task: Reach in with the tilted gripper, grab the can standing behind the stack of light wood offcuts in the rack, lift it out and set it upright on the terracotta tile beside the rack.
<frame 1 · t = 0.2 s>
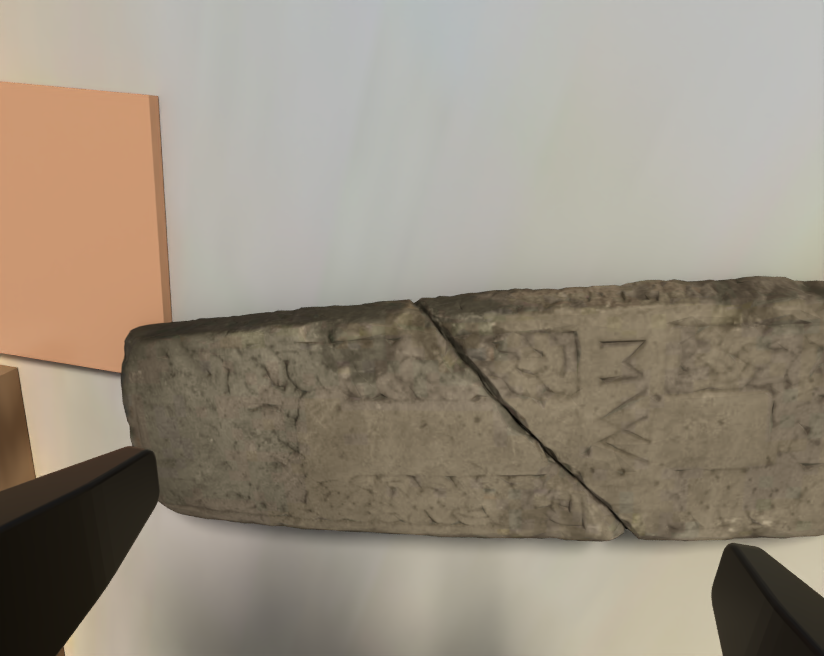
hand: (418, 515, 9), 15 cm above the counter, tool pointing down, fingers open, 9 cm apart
tile: (41, 230, 25), on the counter
stone slab: (479, 405, 24), on the counter, touching tile
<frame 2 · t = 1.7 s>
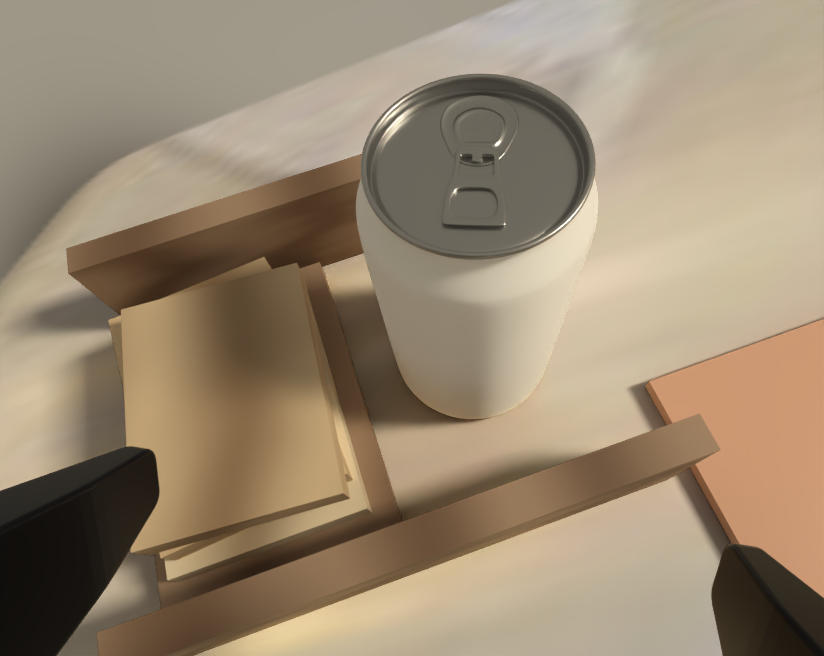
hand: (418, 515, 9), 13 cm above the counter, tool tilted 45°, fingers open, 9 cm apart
can: (470, 351, 25), on the counter
rack: (360, 387, 24), on the counter
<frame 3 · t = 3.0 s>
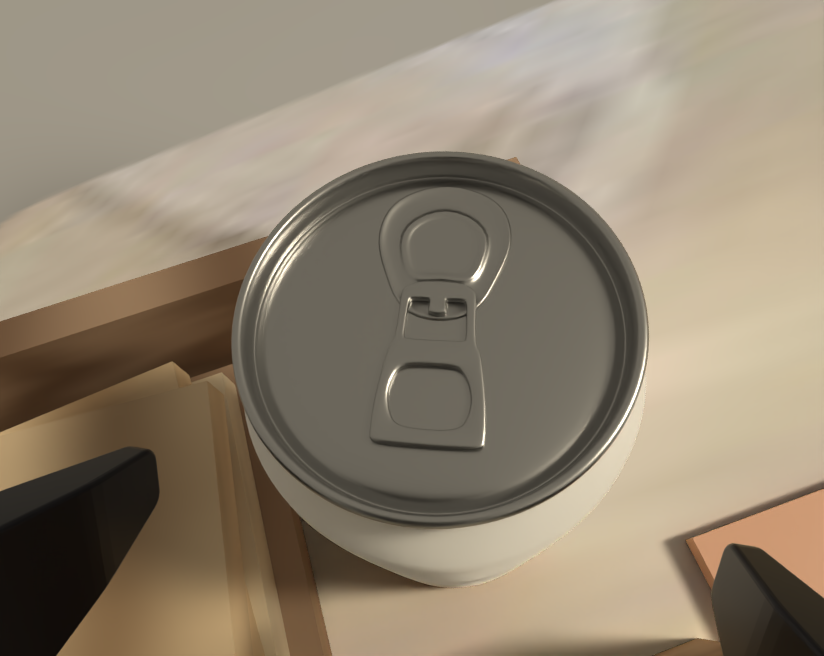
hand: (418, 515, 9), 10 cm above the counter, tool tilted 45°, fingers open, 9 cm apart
can: (451, 480, 19), on the counter
rack: (303, 531, 18), on the counter
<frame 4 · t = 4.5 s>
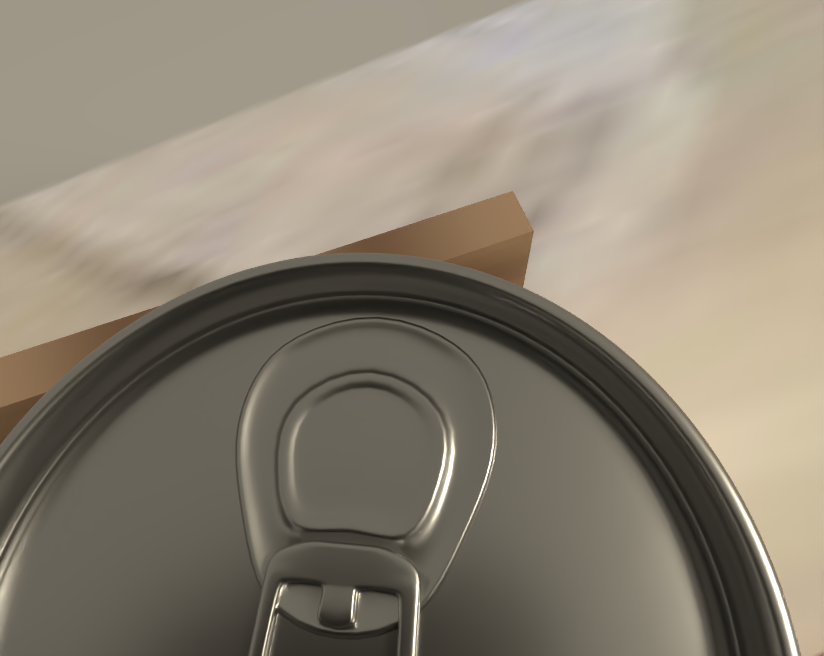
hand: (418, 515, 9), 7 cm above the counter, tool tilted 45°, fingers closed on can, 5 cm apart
can: (429, 605, 14), on the counter, touching gripper
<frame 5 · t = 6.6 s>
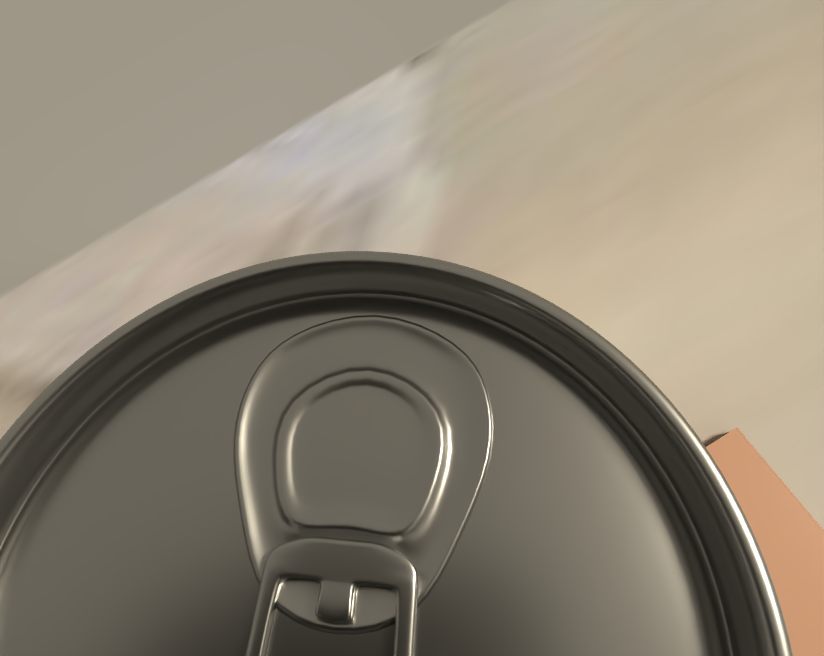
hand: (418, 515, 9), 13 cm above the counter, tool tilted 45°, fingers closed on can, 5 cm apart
can: (424, 601, 15), point 6 cm above the counter, touching gripper
when the fingers open (8 cm above the counter, at t = 8.8 s): can stays where it is, resting on tile.
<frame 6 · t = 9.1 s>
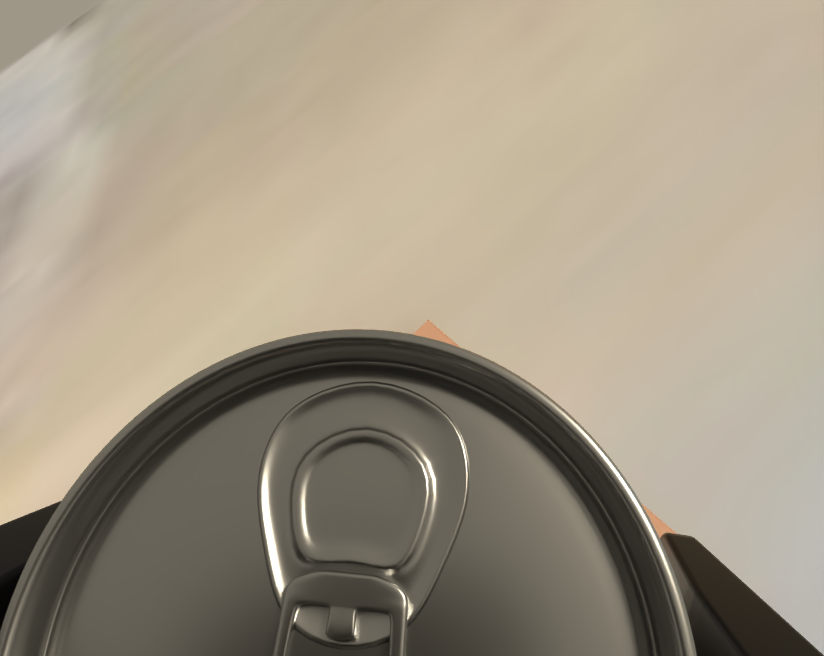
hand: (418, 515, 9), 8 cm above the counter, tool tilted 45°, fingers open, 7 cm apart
tile: (432, 603, 16), on the counter
can: (424, 611, 15), resting on tile
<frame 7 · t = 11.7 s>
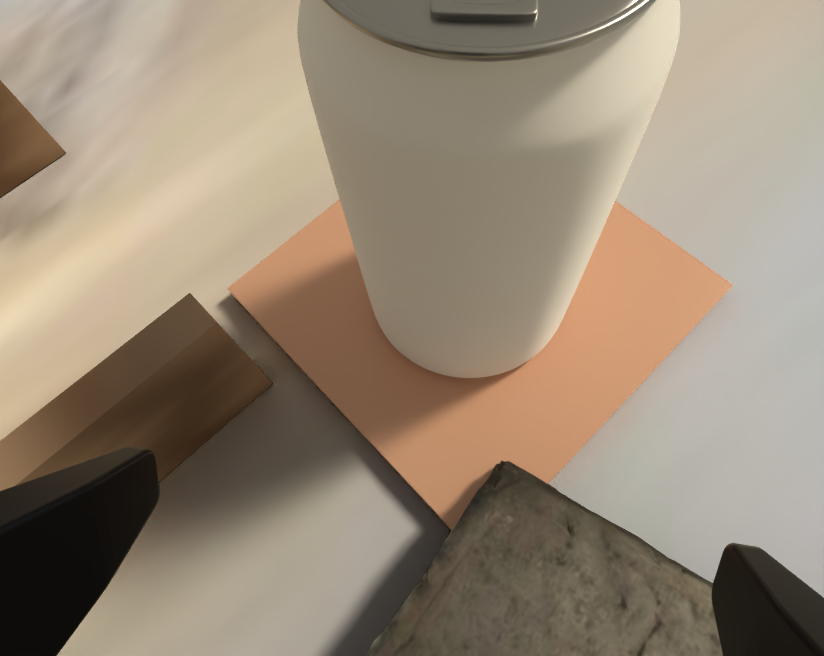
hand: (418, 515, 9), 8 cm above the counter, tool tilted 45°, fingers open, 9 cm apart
tile: (472, 294, 20), on the counter
can: (467, 294, 19), resting on tile
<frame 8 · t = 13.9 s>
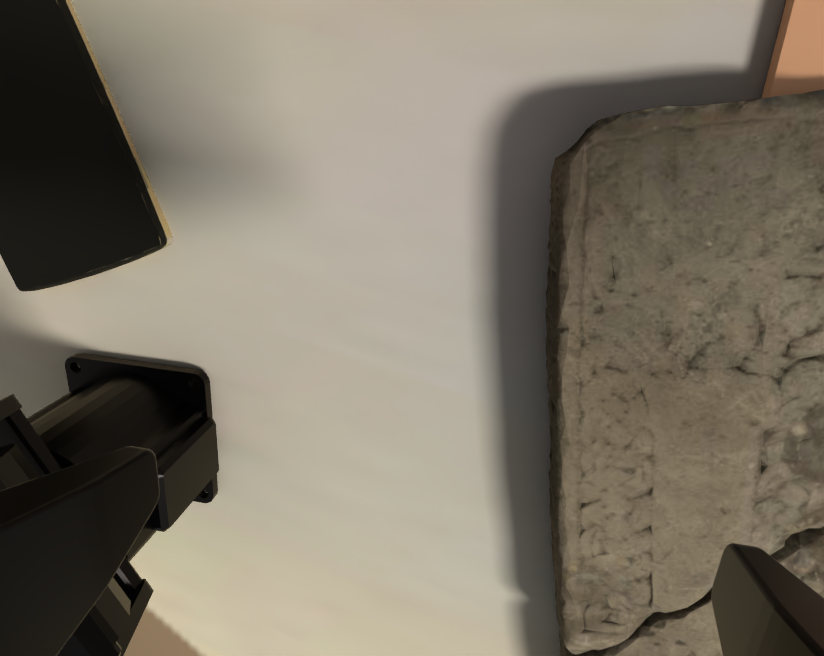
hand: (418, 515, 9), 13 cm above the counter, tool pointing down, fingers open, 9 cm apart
stone slab: (684, 508, 22), on the counter, touching tile
smartphone: (26, 85, 22), on the counter
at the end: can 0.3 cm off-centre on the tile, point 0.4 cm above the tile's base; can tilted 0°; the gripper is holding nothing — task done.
